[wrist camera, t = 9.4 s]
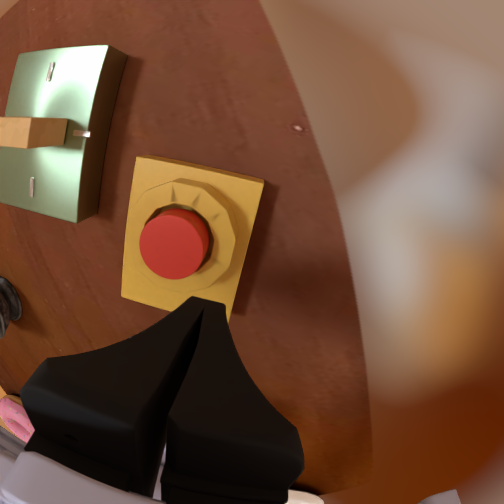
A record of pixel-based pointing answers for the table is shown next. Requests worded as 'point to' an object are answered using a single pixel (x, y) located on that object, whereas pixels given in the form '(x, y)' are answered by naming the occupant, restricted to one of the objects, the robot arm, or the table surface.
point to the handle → (32, 131)
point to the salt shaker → (8, 305)
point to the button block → (213, 216)
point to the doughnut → (16, 417)
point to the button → (174, 243)
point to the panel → (77, 131)
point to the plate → (303, 497)
